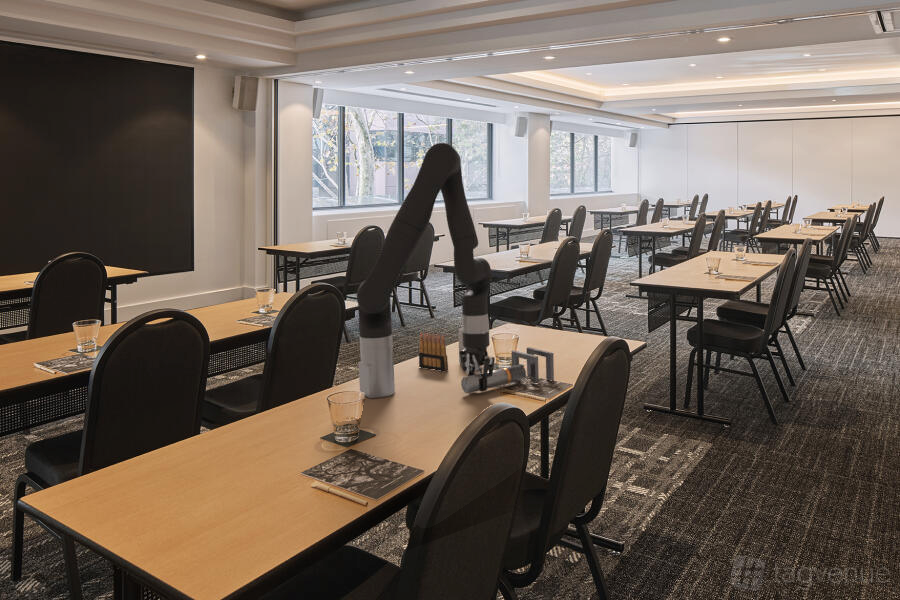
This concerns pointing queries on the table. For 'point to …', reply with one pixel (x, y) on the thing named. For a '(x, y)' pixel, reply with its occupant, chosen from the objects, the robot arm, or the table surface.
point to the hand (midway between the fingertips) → (477, 388)
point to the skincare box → (460, 343)
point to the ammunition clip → (433, 352)
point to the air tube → (494, 378)
